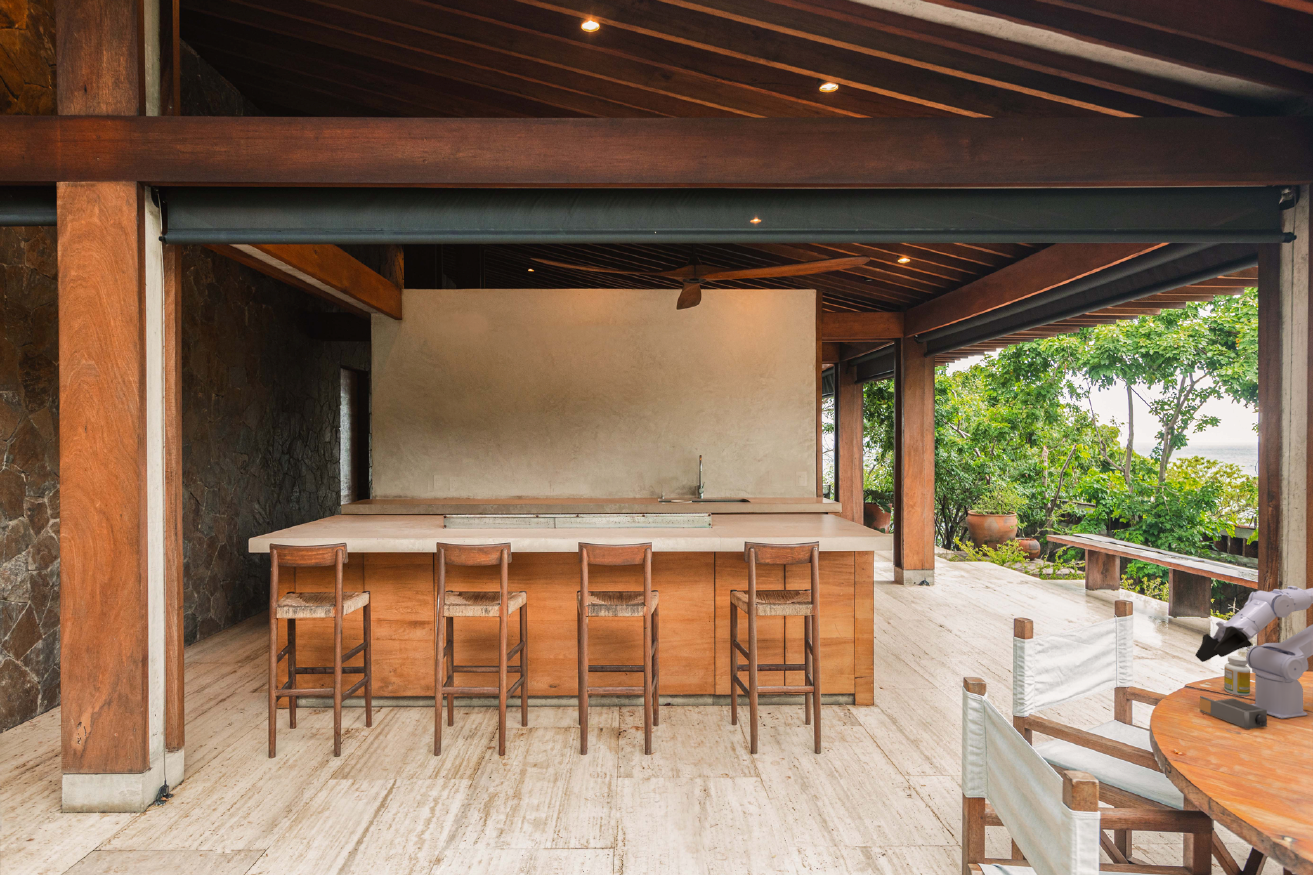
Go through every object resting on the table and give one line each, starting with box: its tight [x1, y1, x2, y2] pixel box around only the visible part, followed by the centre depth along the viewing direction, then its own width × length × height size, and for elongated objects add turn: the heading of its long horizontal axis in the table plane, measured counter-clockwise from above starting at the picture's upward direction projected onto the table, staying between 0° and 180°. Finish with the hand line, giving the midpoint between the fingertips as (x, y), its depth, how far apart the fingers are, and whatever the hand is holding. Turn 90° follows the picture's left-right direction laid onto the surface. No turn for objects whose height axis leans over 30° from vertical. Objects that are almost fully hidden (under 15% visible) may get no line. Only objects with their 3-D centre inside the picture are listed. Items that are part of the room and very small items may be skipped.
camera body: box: [1215, 697, 1268, 730], centre depth 163 cm, size 6×8×4 cm
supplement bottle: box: [1223, 655, 1251, 697], centre depth 182 cm, size 5×5×10 cm
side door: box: [1199, 695, 1250, 730], centre depth 164 cm, size 1×11×4 cm, turn 15°
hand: (1208, 656), depth 166 cm, fingers open, 7 cm apart
